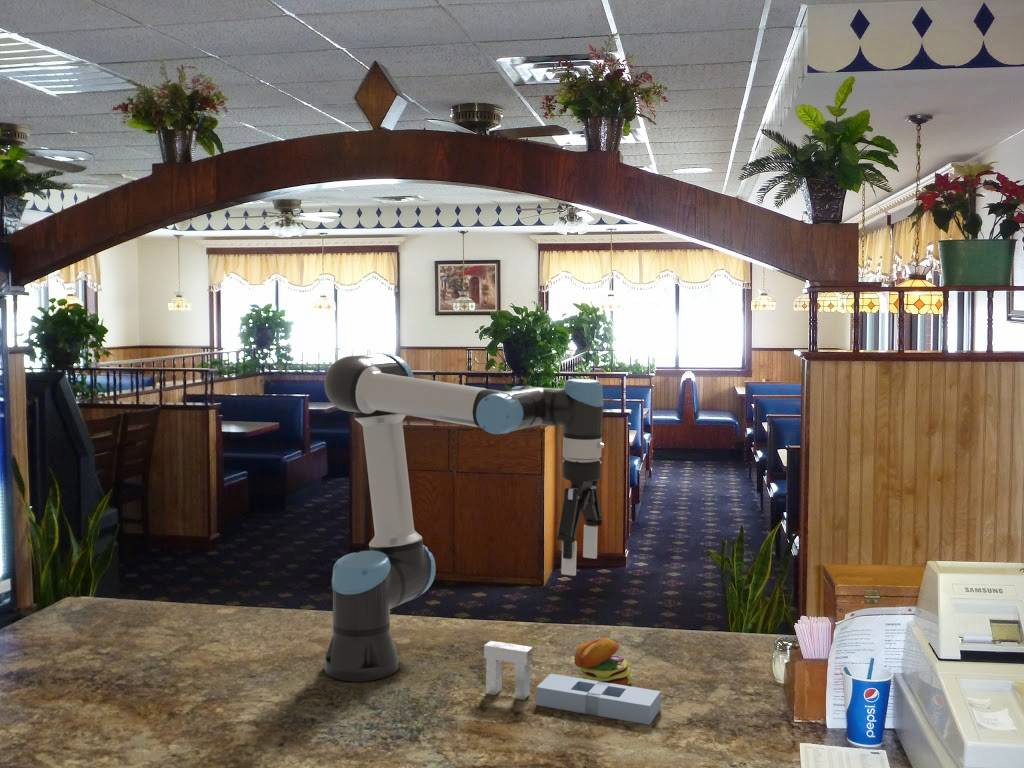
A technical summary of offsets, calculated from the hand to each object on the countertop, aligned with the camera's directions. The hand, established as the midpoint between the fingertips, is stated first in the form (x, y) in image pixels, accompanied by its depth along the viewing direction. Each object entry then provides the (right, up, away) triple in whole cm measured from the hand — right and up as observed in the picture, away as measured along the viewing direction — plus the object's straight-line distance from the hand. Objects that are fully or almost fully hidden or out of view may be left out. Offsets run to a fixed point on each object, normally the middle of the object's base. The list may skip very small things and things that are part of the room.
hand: (579, 565), depth 198 cm
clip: (-14, -24, -2) cm, 28 cm away
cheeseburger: (+5, -24, +4) cm, 25 cm away
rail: (+3, -25, -8) cm, 27 cm away
